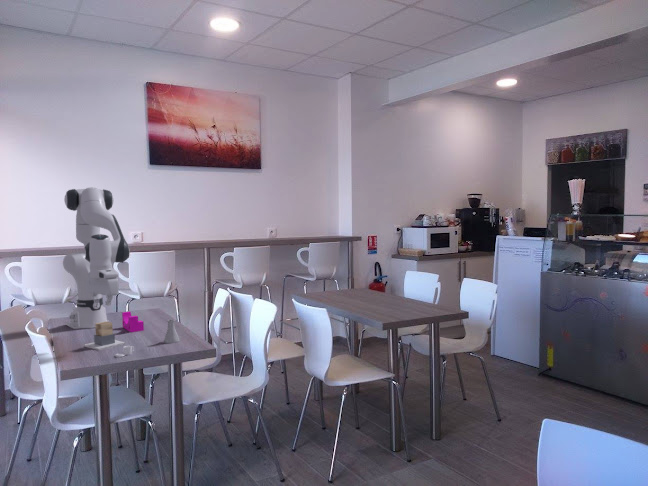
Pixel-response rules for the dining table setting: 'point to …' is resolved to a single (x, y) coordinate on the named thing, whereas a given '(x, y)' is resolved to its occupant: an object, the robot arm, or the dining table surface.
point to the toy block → (132, 322)
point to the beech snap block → (103, 328)
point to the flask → (171, 333)
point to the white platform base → (104, 342)
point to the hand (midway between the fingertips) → (102, 304)
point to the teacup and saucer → (125, 351)
